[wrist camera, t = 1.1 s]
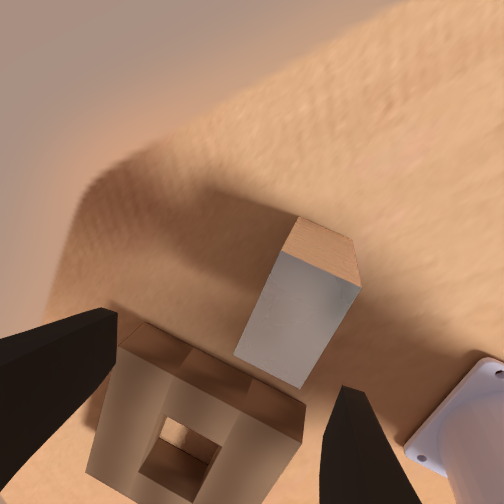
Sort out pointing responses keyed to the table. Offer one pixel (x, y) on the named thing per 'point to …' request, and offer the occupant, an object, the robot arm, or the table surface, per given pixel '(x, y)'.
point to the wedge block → (301, 303)
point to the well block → (190, 426)
